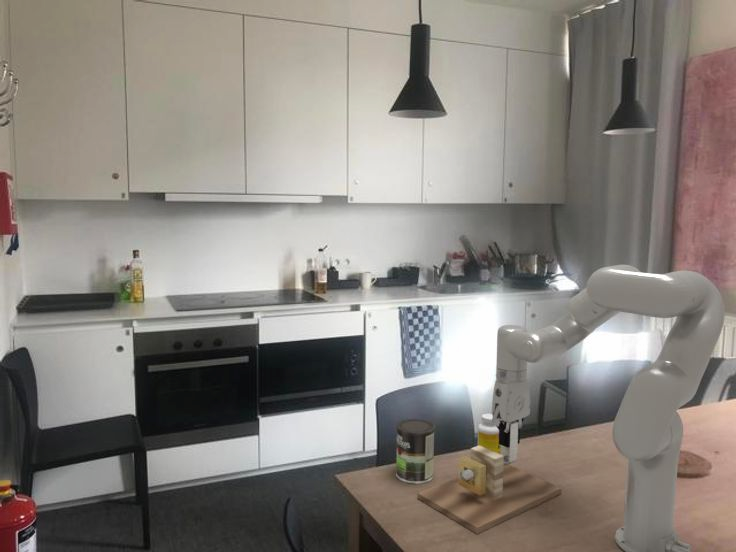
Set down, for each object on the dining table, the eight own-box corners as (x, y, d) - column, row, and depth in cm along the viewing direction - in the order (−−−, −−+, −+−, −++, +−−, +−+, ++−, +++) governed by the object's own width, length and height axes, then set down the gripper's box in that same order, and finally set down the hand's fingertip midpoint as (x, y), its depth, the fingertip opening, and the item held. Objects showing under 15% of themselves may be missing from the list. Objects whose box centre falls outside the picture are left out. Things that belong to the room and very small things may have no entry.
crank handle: (507, 459, 154) (509, 418, 153) (516, 463, 151) (518, 422, 150) (459, 478, 143) (460, 434, 142) (468, 483, 141) (469, 438, 139)
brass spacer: (485, 493, 142) (486, 465, 141) (479, 495, 141) (480, 467, 140) (464, 482, 147) (464, 455, 147) (458, 484, 146) (459, 457, 145)
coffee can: (408, 487, 153) (409, 435, 151) (389, 471, 162) (389, 422, 160) (441, 479, 158) (442, 428, 156) (420, 464, 167) (421, 416, 165)
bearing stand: (561, 493, 150) (563, 448, 148) (477, 534, 131) (478, 482, 130) (499, 466, 166) (501, 425, 164) (417, 498, 147) (418, 452, 146)
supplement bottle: (500, 465, 166) (502, 421, 165) (476, 463, 168) (478, 419, 166) (500, 455, 173) (501, 413, 171) (477, 453, 174) (478, 411, 173)
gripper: (501, 383, 141) (499, 457, 143) (543, 372, 151) (541, 441, 153) (478, 376, 147) (476, 447, 149) (520, 365, 157) (517, 432, 159)
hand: (509, 443), depth 151 cm, fingers closed on crank handle, 3 cm apart
